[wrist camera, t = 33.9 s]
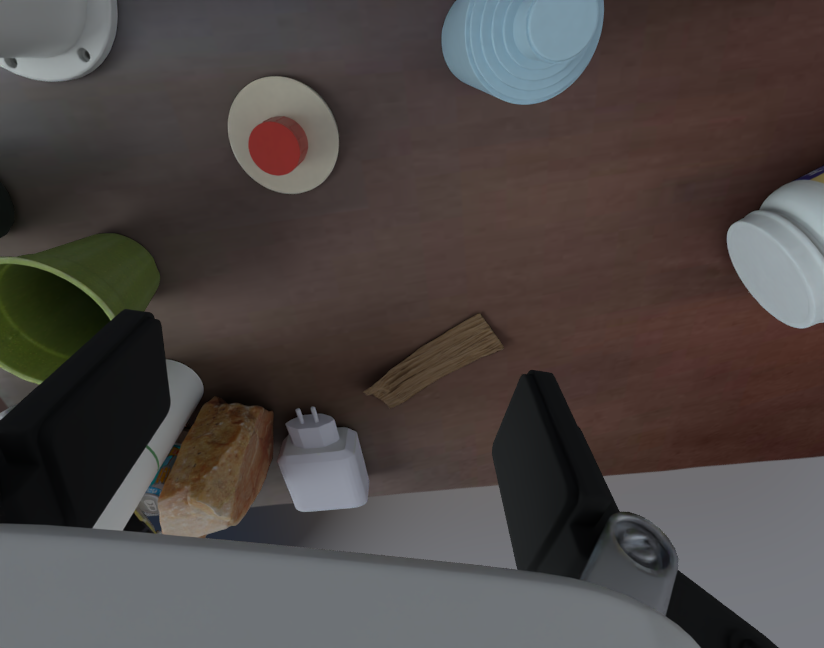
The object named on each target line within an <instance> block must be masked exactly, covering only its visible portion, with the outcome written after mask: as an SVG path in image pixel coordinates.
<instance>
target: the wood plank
mask: <svg viewBox="0 0 824 648" xmlns="http://www.w3.org/2000/svg"><path fill="white" fill-rule="evenodd" d="M503 348H504V347H503V346H502V344H501V342H500V341H499V339H498V338H497V337H496V335H495V334H494V333H493V331H492V330H491V328H490V326H489V325H488V324H487V323H486V321H485V320H484V318H483V317H482V316H481V314H480V313H478V314H477V315H475V316H473V317H471V318H470V319H468V320H466V321H464V322H462V323H461V324H459V325H457V326H456V327H454V328H453V329H451V330H449V331H447V332H446V333H444V334H443V335H441V336H440V337H438V338H436V339H435V340H433V341H431V342H429V343H428V344H426V345H424V346H423V347H421V348H419V349H418V350H417V351H416V352H415V353H413V354H412V355H411V356H409V357H408V358H406V359H405V360H404V361H402V362H401V363H399V364H398V365H396V366H395V367H394V368H392V369H391V370H389V371H388V372H387V373H386V375H385V376H383V377H382V378H381V379H380V380H379V381H377V382H376V383H375V384H374V385H373V386H372V387H370V388H368V389H367V390H365V391H363V392H364V393H365V394H366V395H371V394H373V395H374V396H376V397H377V398H379V399H380V400H382V401H383V402H384V403H385V404H386V405H387V406H388V407H389V408H393V407H395V406H397V405H399V404H402V403H403V402H405V401H407V400H408V399H409V398H411V397H412V396H413V395H415V394H416V393H418V392H419V391H421V390H422V389H424V388H425V387H427V386H428V385H430V384H431V383H433V382H434V381H436V380H438V379H440V378H442V377H443V376H445V375H447V374H449V373H451V372H453V371H455V370H457V369H459V368H461V367H463V366H465V365H467V364H469V363H471V362H473V361H475V360H477V359H480V358H481V357H483V356H488V355H490V354H493V353H495V352H498V351H499V350H502V349H503Z"/></svg>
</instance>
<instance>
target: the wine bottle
mask: <svg viewBox="0 0 824 648" xmlns="http://www.w3.org/2000/svg"><path fill="white" fill-rule="evenodd" d="M13 223H14V206H13V203H12V201H11V198H10V196H9V193H8V191H7V190H6V189H5V187H4V186H3V185H2V183H1V182H0V238H1V237H3V236H4V235H6V234H7V233H8V232H9V230H10V228H11V226H12V225H13Z"/></svg>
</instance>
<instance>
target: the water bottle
mask: <svg viewBox="0 0 824 648" xmlns="http://www.w3.org/2000/svg"><path fill="white" fill-rule="evenodd" d="M603 16H604V0H456V1H455V3H454V4H453V5H452V7H451V8H450V10H449V12H448V14H447V16H446V19H445V21H444V25H443V29H442V41H441V42H442V51H443V55H444V59H445V61H446V63H447V66H448V67H449V69H450V71H451V72H452V73H453V74H454V75H455V76H456V77H457V78H458V79H459V80H461V81H462V82H464V83H466V84H468V85H470V86H472V87H475V88H477V89H479V90H481V91H483V92H486V93H488V94H490V95H492V96H494V97H497V98H499V99H501V100H503V101H506V102H509V103H513V104H520V105H529V104H535V103H540V102H543V101H546V100H548V99H551V98H553V97H555V96H556V95H558V94H560V93H561V92H563V91H564V90H565V89H567V88H568V87H569V86H570V85H571V84H572V83H573V82H574V81H575V80H576V79H577V78H578V77H579V76H580V75H581V73H582V72H583V71H584V69H585V68H586V66H587V65H588V63H589V62H590V60H591V58H592V56H593V54H594V52H595V49H596V47H597V44H598V42H599V38H600V35H601V30H602V25H603Z"/></svg>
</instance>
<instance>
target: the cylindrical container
mask: <svg viewBox="0 0 824 648" xmlns="http://www.w3.org/2000/svg"><path fill="white" fill-rule="evenodd" d="M166 367H167V375H168V383H169V391H170V399H171V404H170V409H169V412H168V414H167V416H166V418H165V419H164V421H163V422H162V424H161V425H160V427H159V428H158V430H157V431H156V433H155V434H154V436H153V437H152V439H151V440H150V442H149V443H148V445H147V446H146V448H145V449H144V451H143V452H142V454H141V455H140V457H139V458H138V460H137V461H136V463H135V464H134V466H133V467H132V469H131V470H130V472H129V473H128V475H127V477H126V478H125V480H124V481H123V483H122V484H121V486H120V487H119V489H118V490H117V492H116V493H115V495H114V496H113V498H112V499H111V501H110V502H109V504H108V505H107V507H106V508H105V510H104V511H103V513H102V514H101V516H100V517H99V519H98V520H97V522H96V523H95V525H94V526H93V529H106V530H120V531H123V529H124V527H125V526H126V524H127V522H128V521H129V519H130V517H131V516H132V514H133V512H134V511H135V509H136V507H137V506H138V504H139V502H140V501H141V499H142V497H143V496H144V494H145V492H146V491H147V489H148V487H149V486H150V484H151V482H152V481H153V479H154V477H155V475H156V474H157V472H158V470H159V469H160V467H161V465H162V464H163V462H164V460H165V459H166V457H167V455H168V454H169V452H170V450H171V449H172V447H173V445H174V444H175V442H176V440H177V439H178V437H179V435H180V434H181V432H182V430H183V428H184V427H185V425H186V423H187V422H188V420H189V418H190V417H191V415H192V413H193V412H194V410H195V408H196V407H197V405H198V403H199V402H200V400H201V398H202V397H203V393H204V387H203V383H202V381H201V379H200V378H199V376H198V375H197V374H196V373H195V372H194V371H193V370H192V369H191V368H189V367H188V366H186V365H184V364H182V363H180V362H177V361H174V360H168V359H166Z"/></svg>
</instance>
